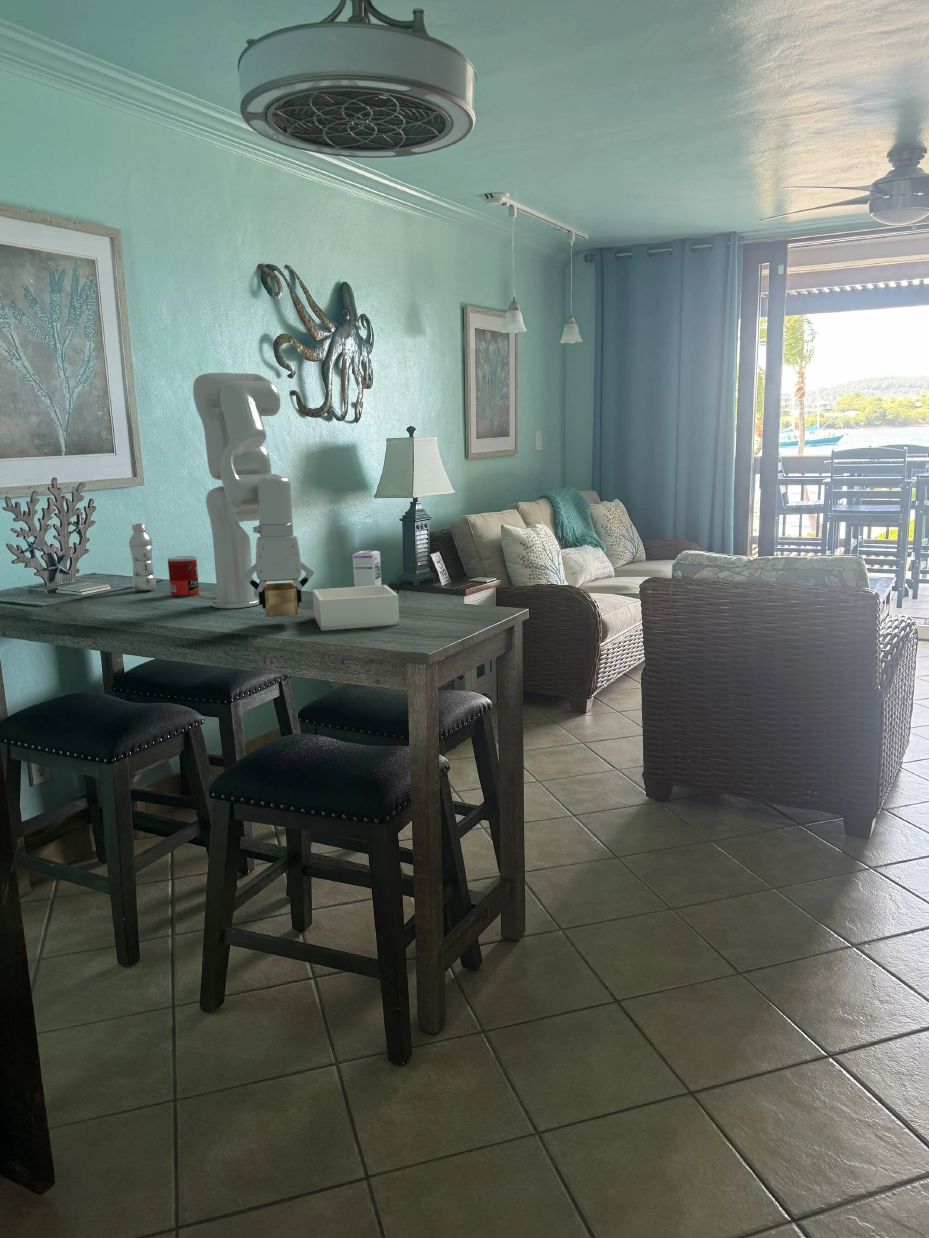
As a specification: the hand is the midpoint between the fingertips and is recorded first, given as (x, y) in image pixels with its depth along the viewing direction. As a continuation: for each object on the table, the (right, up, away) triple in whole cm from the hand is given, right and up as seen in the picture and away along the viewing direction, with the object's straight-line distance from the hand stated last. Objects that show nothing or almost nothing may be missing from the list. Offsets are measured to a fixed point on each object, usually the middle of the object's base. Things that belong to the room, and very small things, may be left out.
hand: (280, 606), depth 207 cm
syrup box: (+18, 0, +21) cm, 28 cm away
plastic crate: (+17, -4, +4) cm, 18 cm away
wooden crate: (0, -1, 0) cm, 1 cm away
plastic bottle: (-53, +5, +58) cm, 78 cm away
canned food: (-38, +4, +48) cm, 61 cm away
